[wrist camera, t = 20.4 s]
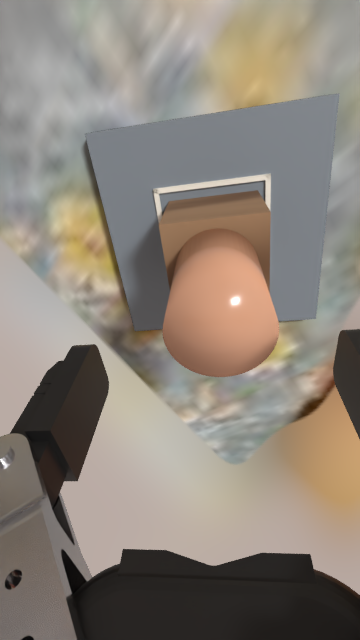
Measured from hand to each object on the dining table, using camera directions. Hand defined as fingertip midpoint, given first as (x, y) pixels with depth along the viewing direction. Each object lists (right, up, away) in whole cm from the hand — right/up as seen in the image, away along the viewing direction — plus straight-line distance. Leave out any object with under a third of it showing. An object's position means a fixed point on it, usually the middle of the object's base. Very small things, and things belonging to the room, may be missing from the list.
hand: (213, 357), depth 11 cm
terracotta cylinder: (+1, +4, +6) cm, 8 cm away
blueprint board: (+1, +7, +11) cm, 14 cm away
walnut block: (+1, +7, +11) cm, 13 cm away
